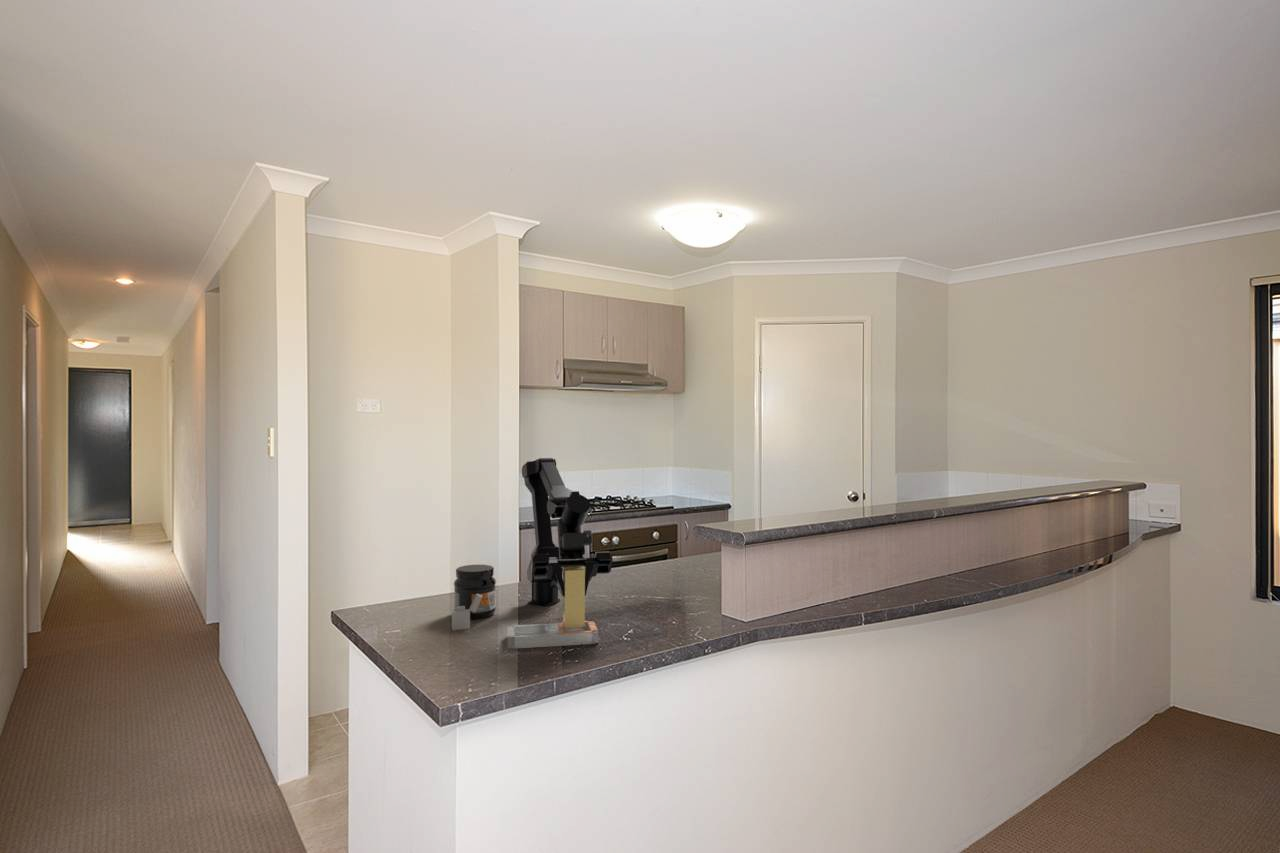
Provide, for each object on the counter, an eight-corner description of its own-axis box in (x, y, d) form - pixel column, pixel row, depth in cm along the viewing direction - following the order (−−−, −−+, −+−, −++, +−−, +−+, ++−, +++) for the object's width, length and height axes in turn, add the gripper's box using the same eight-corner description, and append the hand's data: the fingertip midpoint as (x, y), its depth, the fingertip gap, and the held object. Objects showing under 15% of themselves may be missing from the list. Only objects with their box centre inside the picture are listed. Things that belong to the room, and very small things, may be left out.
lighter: (452, 630, 169) (452, 596, 169) (451, 628, 171) (451, 595, 171) (482, 627, 172) (482, 594, 172) (481, 625, 173) (481, 592, 173)
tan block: (564, 628, 161) (565, 570, 160) (563, 622, 165) (563, 566, 165) (584, 626, 161) (584, 569, 161) (582, 621, 166) (582, 565, 166)
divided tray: (507, 648, 156) (507, 636, 156) (507, 636, 165) (507, 624, 165) (598, 643, 160) (598, 631, 160) (593, 631, 168) (593, 620, 168)
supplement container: (501, 616, 181) (501, 569, 181) (460, 622, 176) (460, 574, 176) (488, 607, 190) (488, 562, 190) (448, 612, 185) (448, 566, 185)
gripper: (532, 519, 165) (534, 577, 154) (611, 517, 168) (619, 574, 158) (530, 546, 173) (532, 604, 162) (606, 544, 176) (613, 600, 166)
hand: (574, 595), depth 162 cm, fingers closed on tan block, 4 cm apart
